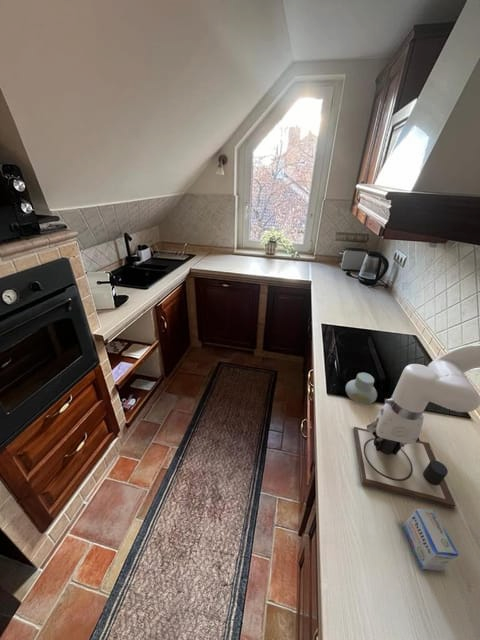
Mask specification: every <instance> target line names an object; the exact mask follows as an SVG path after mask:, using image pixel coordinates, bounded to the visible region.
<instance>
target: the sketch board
mask: <svg viewBox="0 0 480 640" xmlns="http://www.w3.org/2000/svg"><path fill="white" fill-rule="evenodd" d="M352 430H353V437H354V444H355V449H356V456H357V462H358V469H359V475H360V482H361V483H360V484H361V486H366V487H370V488H373V489H377V490H381V491H385V492H388V493H389V492H390V493H393V494H397V495H400V496H404V497H409V498H411V499H416V500H420V501H424V502H426V503H432V504H435V505H438V506H442V507H446V508H451V509H455V507H457V505H456V502H455V500H454V498H453V495H452V494H451V491H450V489H449V487H448V484H447V482H446V479H445V478H444V479H443V480H442V482H441V483H440V484H439V485H432V484H430V483H429V482H428V481H427V480H426V479H425V478H424V476H423V472H424V470H425V469H426V467H427V466H428V464H429V463H430V461H432V460H436V461H437V458H436V456H435V454H434V452H433V449H432V447H431V444H430V443H429V442H425V441H422V440H420V441H418V442H415V443H414V444H405V446H404V447H401V448H400V450H399V451H398V452H397V454H396V455H394V454H393V452H392V453H391V454H389V455H388V454H384V453H382V452H381V451H380V450H379V451H377V450H376V446H374V439H375V436H374V435H373V434H372V433H371V432H369V431H368V430H367V428H362V427H356V426H353V429H352Z"/></svg>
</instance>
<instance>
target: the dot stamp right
mask: <svg viewBox="0 0 480 640" xmlns="http://www.w3.org/2000/svg"><path fill="white" fill-rule="evenodd" d="M448 473H449V471H448V467H446V465H445V464H443V463H442V462H441V461H439V460H437V459H436V460H432V461H430V463H429V464H428V466H427V467H426V469H425V470H424V472H423V476H424V478H425V479H426V480H427V481H428V482H429V483H430V484H432V485H439V484H440V483H441V482H442V480H443V479H445V478H446V477H447V475H448Z"/></svg>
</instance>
